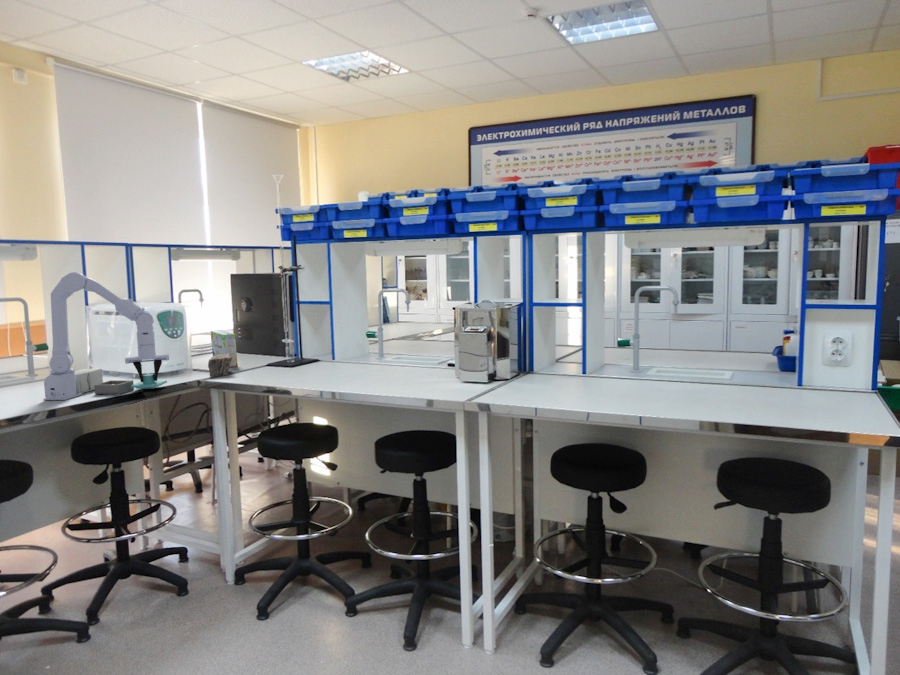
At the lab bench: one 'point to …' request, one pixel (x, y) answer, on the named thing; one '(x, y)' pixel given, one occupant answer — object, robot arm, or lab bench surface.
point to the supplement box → (87, 379)
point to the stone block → (219, 364)
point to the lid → (148, 382)
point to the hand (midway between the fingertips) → (149, 381)
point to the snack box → (224, 344)
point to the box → (114, 387)
